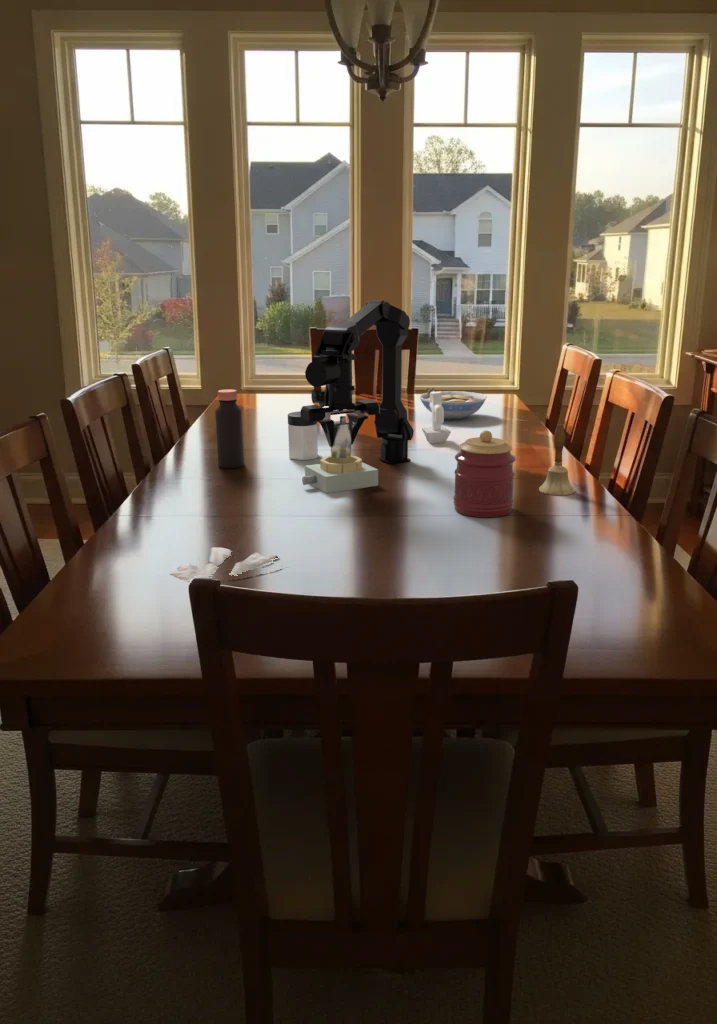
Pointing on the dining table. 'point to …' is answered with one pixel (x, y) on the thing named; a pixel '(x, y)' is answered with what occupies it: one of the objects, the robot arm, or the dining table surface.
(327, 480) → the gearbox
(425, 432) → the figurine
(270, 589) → the dining table surface
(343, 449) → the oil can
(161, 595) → the dining table surface
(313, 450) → the jar
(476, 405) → the ramen bowl
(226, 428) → the bottle
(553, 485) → the hand bell
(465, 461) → the canister
